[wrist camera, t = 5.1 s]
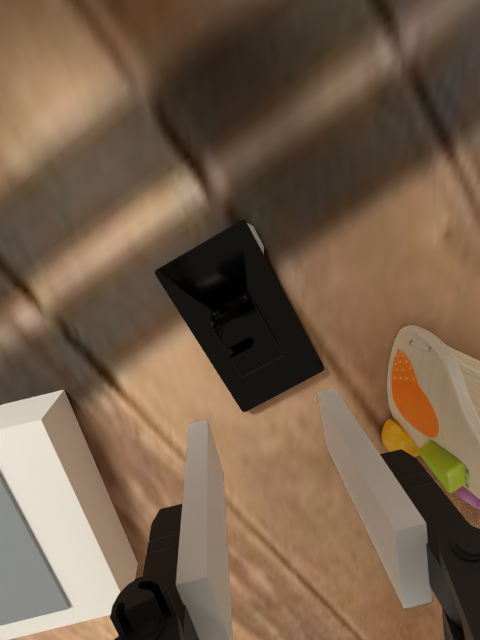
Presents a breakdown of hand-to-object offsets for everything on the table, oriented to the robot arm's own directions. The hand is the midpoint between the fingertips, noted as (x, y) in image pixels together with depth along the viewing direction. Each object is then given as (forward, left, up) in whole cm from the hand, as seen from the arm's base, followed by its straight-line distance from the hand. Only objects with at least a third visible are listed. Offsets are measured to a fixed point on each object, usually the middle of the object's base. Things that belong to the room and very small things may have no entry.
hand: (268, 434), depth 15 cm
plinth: (+10, -23, -13) cm, 28 cm away
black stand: (0, 0, -14) cm, 14 cm away
